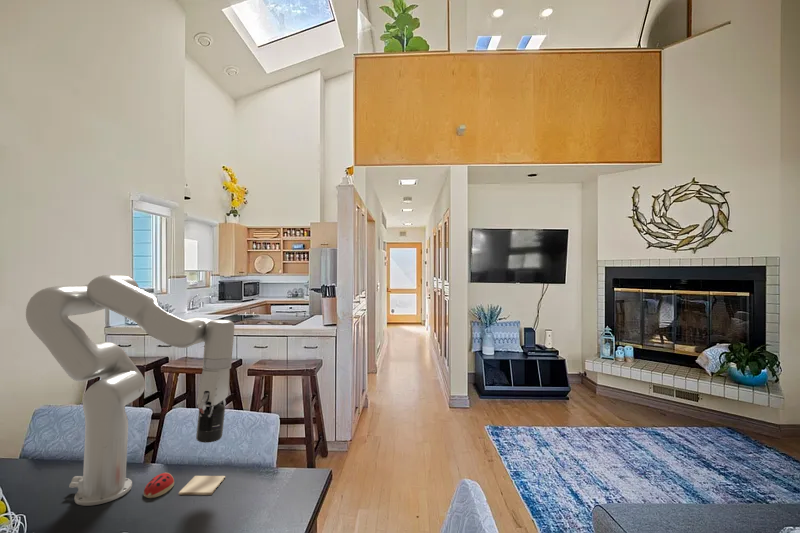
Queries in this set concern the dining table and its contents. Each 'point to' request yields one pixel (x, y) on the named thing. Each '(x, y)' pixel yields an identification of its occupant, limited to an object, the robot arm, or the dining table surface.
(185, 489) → the cork coaster
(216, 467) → the dining table surface
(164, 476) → the ladybug figurine
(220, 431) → the supplement bottle
